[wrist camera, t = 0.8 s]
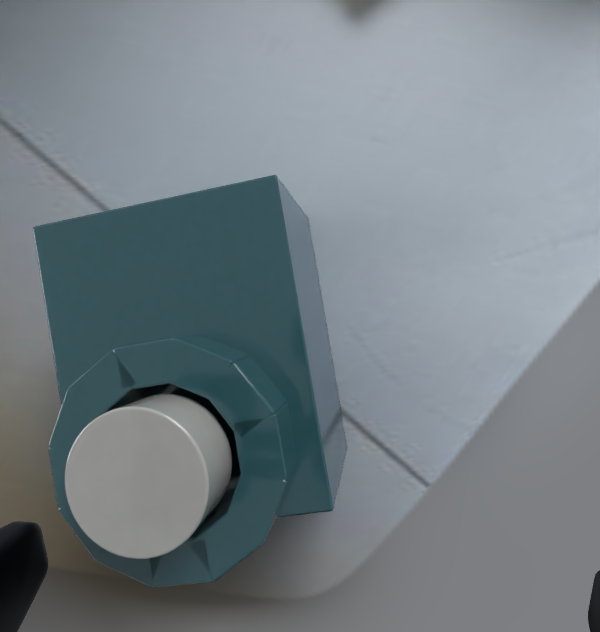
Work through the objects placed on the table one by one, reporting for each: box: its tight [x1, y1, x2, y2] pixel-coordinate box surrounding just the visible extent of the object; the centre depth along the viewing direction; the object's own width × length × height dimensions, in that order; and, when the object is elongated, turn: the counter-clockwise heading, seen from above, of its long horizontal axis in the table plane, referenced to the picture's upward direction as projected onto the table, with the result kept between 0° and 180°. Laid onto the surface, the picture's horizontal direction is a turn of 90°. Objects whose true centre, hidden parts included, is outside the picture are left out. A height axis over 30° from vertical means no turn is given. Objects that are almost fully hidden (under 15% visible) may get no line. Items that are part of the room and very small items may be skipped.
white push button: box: [65, 394, 232, 559], centre depth 13 cm, size 4×4×2 cm
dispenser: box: [33, 175, 347, 587], centre depth 18 cm, size 11×8×9 cm
